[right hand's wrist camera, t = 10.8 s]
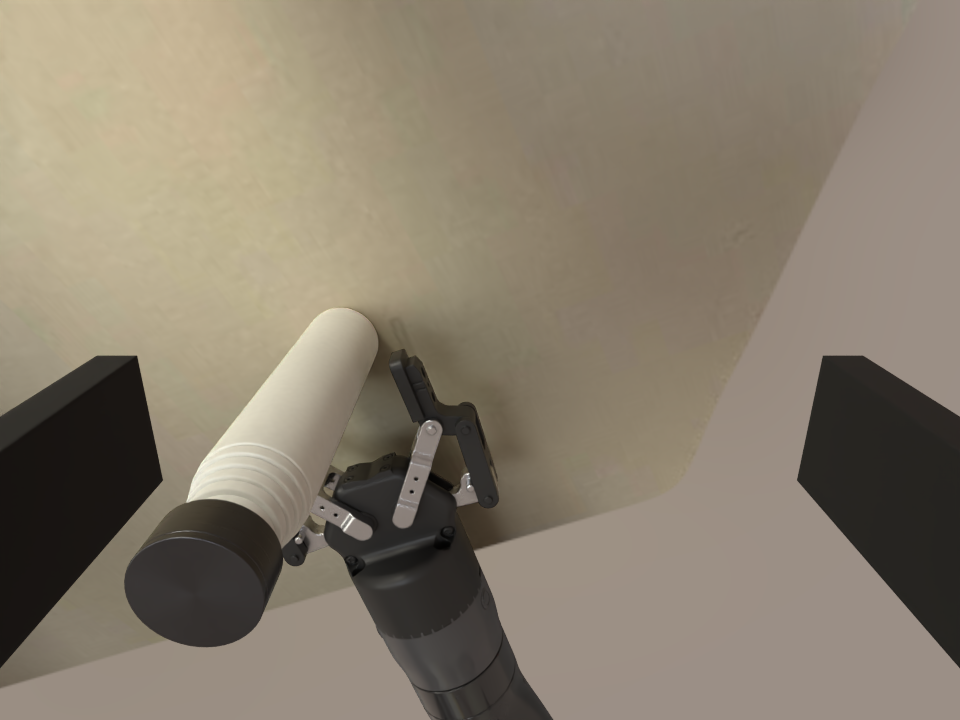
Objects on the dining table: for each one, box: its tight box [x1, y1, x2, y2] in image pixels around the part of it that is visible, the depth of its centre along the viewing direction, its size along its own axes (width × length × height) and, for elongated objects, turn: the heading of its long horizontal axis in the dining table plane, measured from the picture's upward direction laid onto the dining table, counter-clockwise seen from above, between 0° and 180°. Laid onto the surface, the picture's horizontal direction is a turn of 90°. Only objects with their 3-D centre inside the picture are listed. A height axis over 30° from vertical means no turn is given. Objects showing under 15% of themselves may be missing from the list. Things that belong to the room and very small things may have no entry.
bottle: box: [186, 308, 378, 548], centre depth 31 cm, size 5×5×23 cm
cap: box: [124, 499, 283, 647], centre depth 21 cm, size 4×4×2 cm
